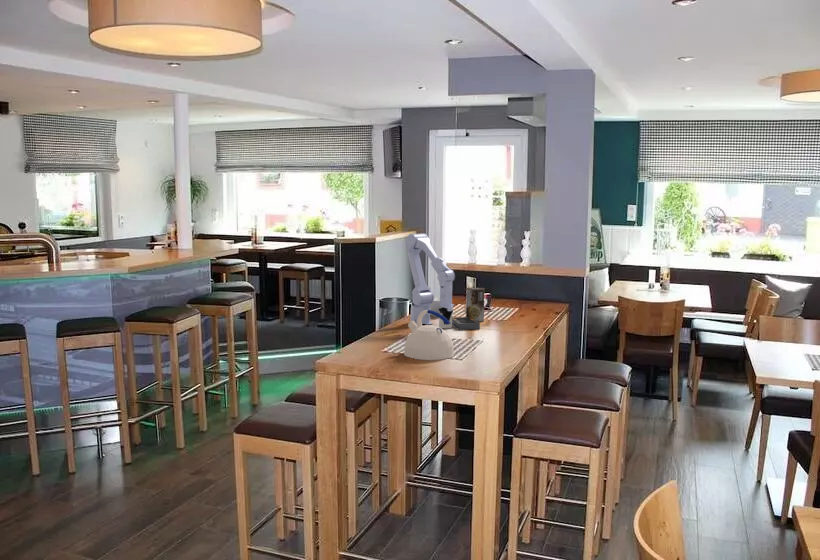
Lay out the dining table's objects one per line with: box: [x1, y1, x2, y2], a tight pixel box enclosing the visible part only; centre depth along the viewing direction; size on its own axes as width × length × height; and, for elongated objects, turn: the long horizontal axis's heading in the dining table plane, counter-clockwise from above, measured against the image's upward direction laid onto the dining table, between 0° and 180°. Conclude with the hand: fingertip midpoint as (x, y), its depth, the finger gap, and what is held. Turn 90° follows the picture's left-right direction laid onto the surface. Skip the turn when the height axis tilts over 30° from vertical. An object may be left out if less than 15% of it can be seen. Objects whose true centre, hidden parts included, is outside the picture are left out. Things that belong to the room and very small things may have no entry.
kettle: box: [403, 310, 455, 361], centre depth 285 cm, size 20×21×18 cm
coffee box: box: [465, 287, 485, 322], centre depth 359 cm, size 9×6×16 cm
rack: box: [452, 316, 481, 331], centre depth 344 cm, size 10×16×3 cm, turn 13°
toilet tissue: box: [430, 297, 455, 318], centre depth 372 cm, size 9×13×9 cm
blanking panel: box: [438, 313, 453, 329], centre depth 339 cm, size 6×2×7 cm, turn 102°
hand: (445, 323), depth 339 cm, fingers closed on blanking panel, 2 cm apart
